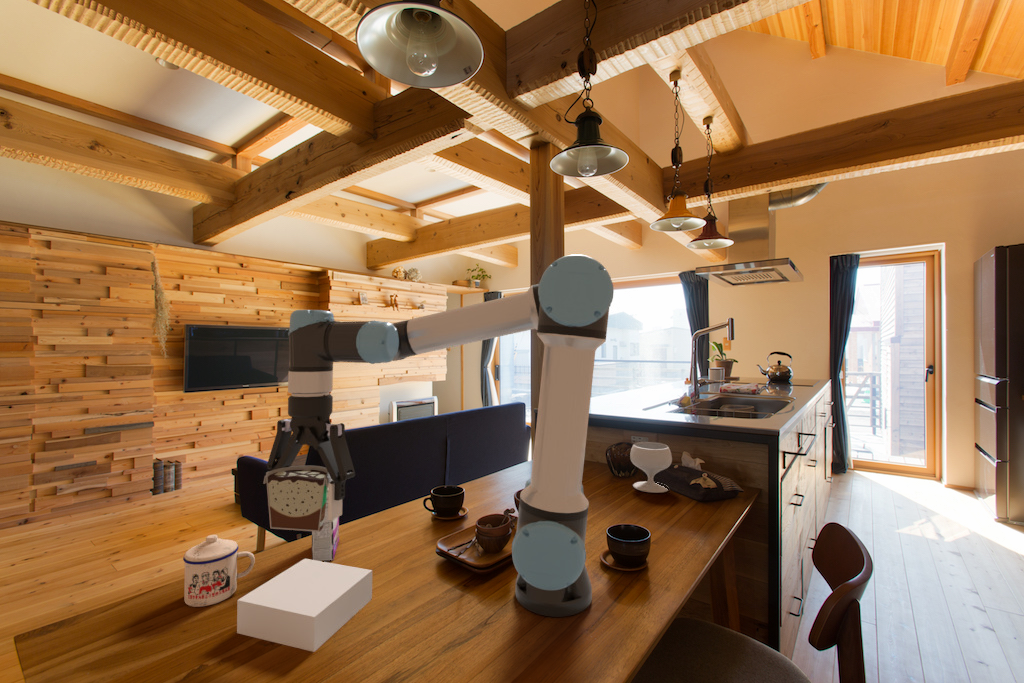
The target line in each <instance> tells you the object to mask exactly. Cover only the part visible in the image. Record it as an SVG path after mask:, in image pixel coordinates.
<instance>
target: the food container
mask: <svg viewBox="0 0 1024 683" xmlns="http://www.w3.org/2000/svg"><path fill="white" fill-rule="evenodd" d="M331 481H332V479H331V477H330V475H329V473H328V471H327V469H326V467H325V466H320V465H293V466H292V465H291V467H285V468H280V469H275V470H272V469H271V470H269V471H267V472H265V475H264V478H263V483H262V484H264V485H265V484H266V492H267V506H268V514H269V527H270V529H274V530H287V531H288V530H289V531H292V530H293V531H299V532H300V531H302V532H312V531H315V532H320V531H321V530H322V528H323V526H324V518H325V509H326V500H327V491H328V483H329V482H331Z"/></svg>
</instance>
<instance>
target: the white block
mask: <svg viewBox="0 0 1024 683" xmlns="http://www.w3.org/2000/svg"><path fill="white" fill-rule="evenodd" d="M371 599H373V569H367V568H361V567H356V566H350V565H343V564H339V563H334V562H329V561H324V562H322V561H317V560H312V558H311V559H309V558H303V559H301V560H300V561H298V562H296V563H295V564H294V565H292V566H290V567H289V568H287V569H285V570H284V571H282V572H281V573H279V574H277V575H276V576H274V577H273V578H271V579H270V580H268V581H266V582H264V583H263V584H261V585H260V586H258V587H256V588H255V589H253V590H251V591H250V592H248V593H246V594H245V595H243V596H242V597H240V598H239V599H237V601H236V602H237V604H236V605H237V606H236V610H237V612H236V614H237V616H236V619H237V620H236V634H240V635H244V636H246V637H247V636H248V637H252V638H256V639H259V640H264V641H267V642H272V643H276V644H279V645H280V644H281V645H285V646H289V647H293V648H296V649H297V648H298V649H301V650H305V651H307V652H308V651H309V652H312V653H314V652H316V651H317V650H319V648H320V647H322V646H323V645H324V644H325V643H326V642H327V641H328V640H329V639H330V638H331V637H332V636H334V635H335V634H336V633H337V632H338V631H339V630H340V629H341V628H342V627H343V626H344V625H346V623H348V622H349V621H350V620H351V619H352V618H353V617H354V616H355V615H356V614H357V613H358V612H360V611H361V610H362V609H363V608H364V607H366V605H367V604H368V603H369V602H370V601H372V600H371ZM359 610H360V611H359Z"/></svg>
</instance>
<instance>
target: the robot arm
mask: <svg viewBox="0 0 1024 683" xmlns="http://www.w3.org/2000/svg"><path fill="white" fill-rule="evenodd" d="M613 299H614V282H613V281H612V278H611V275H610V273H609V272H608V270H607V269H606V267H605V266H604V265H603V264H602V263H601V262H599V261H598V259H595V258H593V257H591V256H589V255H585V254H577V253H576V254H569V255H568V254H567V255H564V256H562V257H559V258H557V259H556V260H554V261H553V262H552V263H551V264H550V265H548V266H547V267H546V269H545V271H543V274H542V275H541V278H540V280H539V282H538V283H537V284H533V285H530V287H529V288H528V290H527V291H525V292H522V293H517V294H513V295H509V296H505V297H500V298H496V299H491V300H487V301H483V302H480V303H479V302H478V303H475V304H471V305H470V304H469V305H466V306H461V307H456V308H453V309H449V310H445V311H440V312H437V313H436V312H435V313H431V314H428V315H424V316H423V315H422V316H419V317H416V318H412V319H411V318H410V319H406V320H402V321H398V322H393V323H391V322H389V321H380V320H368V321H367V320H365V321H361V320H360V321H358V320H357V321H339V320H337V321H336V320H335V314H334V313H333V312H332V311H330V310H325V309H324V310H323V309H296V310H294V311H292V312H291V314H290V317H289V327H288V328H289V330H288V333H287V336H288V351H289V352H288V353H289V354H288V357H289V359H288V360H289V362H288V363H289V364H288V380H287V382H288V383H287V392H288V393H289V394H291V395H289V397H288V398H287V414H288V416H289V417H291V418H285V419H280V420H277V423H276V434H275V437H274V441H273V444H272V447H271V451H270V454H269V457H268V460H267V464H266V468H267V470H269V471H272V470H275V469H280V468H285V467H292V464H294V462H295V459H296V457H297V456H298V454H299V453H300V451H301V449H302V447H303V446H304V445H307V446H308V447H313V449H314V450H315V451H317V452H318V454H319V457H320V459H321V460H322V463H323V464H324V467H325V468H326V469H327V471H328V473H329V475H330V477H331V479H332V481H331V482H329V483H328V520H333V519H335V518H337V517H339V518H340V516H343V500H344V499H345V497H346V481H347V480H348V479H351V478H354V477H355V476H356V471H355V468H354V464H353V460H352V457H351V454H350V450H349V446H348V443H347V440H346V434H345V430H346V427H345V424H344V423H343V422H342V423H336V424H335V423H334V424H333V423H331V419H330V417H331V415H332V414H333V400H334V397H333V395H332V394H331V392H332V391H333V384H334V383H333V381H334V380H333V377H334V371H333V370H334V363H355V364H356V363H359V364H361V363H362V364H366V363H367V364H372V365H374V364H375V365H376V364H382V363H383V364H384V363H386V364H387V363H390V362H392V361H393V362H396V361H402V360H404V359H406V358H409V357H414V356H416V355H422V354H425V353H432V352H435V351H439V350H440V351H441V350H444V349H449V348H453V347H457V346H463V345H466V344H471V343H476V342H481V341H486V340H490V339H495V338H498V337H503V336H508V335H512V334H518V333H521V332H526V331H530V330H536V335H537V337H538V338H539V339H540V340H541V342H542V343H543V348H544V350H543V357H542V358H543V359H542V366H541V367H542V368H541V376H540V377H541V378H540V379H541V380H540V388H539V397H538V398H539V399H538V406H537V418H536V428H535V437H534V447H533V456H532V464H531V465H532V466H531V473H530V474H531V476H530V478H528V479H527V480H526V481H525V486H524V488H523V490H521V491H520V495H519V503H518V504H519V505H518V514H517V523H516V529H515V530H516V532H515V535H514V537H513V540H512V542H511V556H512V562H513V565H514V568H515V570H516V572H517V573H518V574H517V576H516V579H515V598H516V600H517V602H518V603H519V605H520V606H522V607H523V608H524V609H526V610H527V611H530V612H531V613H534V614H537V615H539V616H545V617H551V618H552V617H555V618H558V617H559V618H563V617H569V616H570V617H571V616H574V615H577V614H579V613H581V612H583V611H585V610H586V609H587V608H588V607H590V605H591V603H592V599H593V598H592V596H593V593H592V592H593V589H592V582H591V580H590V576H589V573H588V570H587V566H586V560H587V551H586V547H585V546H586V535H587V527H588V526H587V525H588V516H589V505H590V504H589V503H590V502H589V500H588V498H586V496H585V494H584V485H583V484H582V483H583V482H582V481H583V473H584V464H585V456H586V455H585V454H586V447H587V446H586V445H587V435H588V426H589V416H590V409H591V408H590V406H591V398H592V387H593V377H594V368H595V357H596V351H597V350H598V348H600V346H602V345H603V344H604V343H606V340H607V334H608V333H607V330H608V322H609V312H610V307H611V305H612V302H613Z"/></svg>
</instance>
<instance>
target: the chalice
mask: <svg viewBox="0 0 1024 683" xmlns="http://www.w3.org/2000/svg"><path fill="white" fill-rule="evenodd" d="M629 455H630V456H629V457H630V458H629V459H630V461H631V463H632V464H633V465H634V467H637V468H638V469H640V470H641V471H642V472H644V473H645V474H646V475H647V481H646V480H645V481H636V482H634V483H633V484H632V487H633V488H634V489H635V490H637V491H641V492H645V493H651V494H652V493H654V494H655V493H656V494H658V493H659V494H660V493H667V492H668V491H669V490H668V489H667V488H665V487H664V486H661V485H659V484H657V483H658V482H657V483H655V482H656V481H654V477H655V475H656V474H658V473H660V472H663V471H664V470H666V469H668V468H669V467H670V466H671V465H672V462H673V457H672V456H673V455H672V452H671V449H670V447H669V445H667V444H665V443H661V442H655V441H637V442H635V443H633V444H632V447H631V449H630V454H629Z"/></svg>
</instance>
